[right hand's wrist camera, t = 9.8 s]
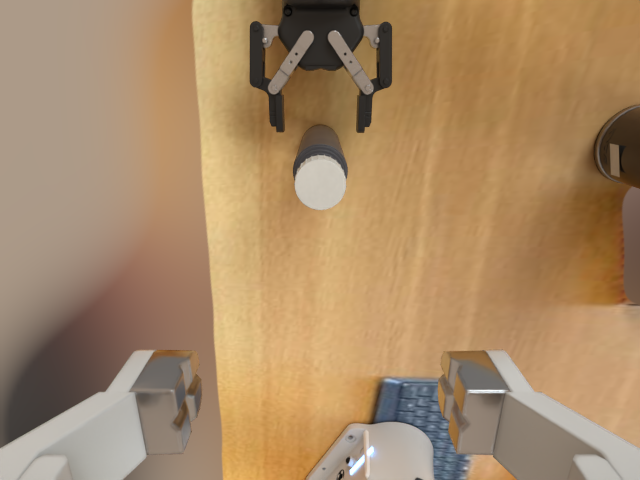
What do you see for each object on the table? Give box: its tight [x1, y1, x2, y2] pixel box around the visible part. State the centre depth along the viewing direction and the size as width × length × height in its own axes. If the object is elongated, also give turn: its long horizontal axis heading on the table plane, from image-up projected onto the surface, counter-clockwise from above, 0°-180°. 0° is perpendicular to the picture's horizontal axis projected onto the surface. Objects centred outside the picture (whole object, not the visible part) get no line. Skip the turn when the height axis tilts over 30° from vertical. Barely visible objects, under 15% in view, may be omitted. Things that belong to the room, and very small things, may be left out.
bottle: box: [293, 125, 348, 180], centre depth 41 cm, size 5×5×22 cm
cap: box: [294, 155, 346, 210], centre depth 31 cm, size 4×4×2 cm
